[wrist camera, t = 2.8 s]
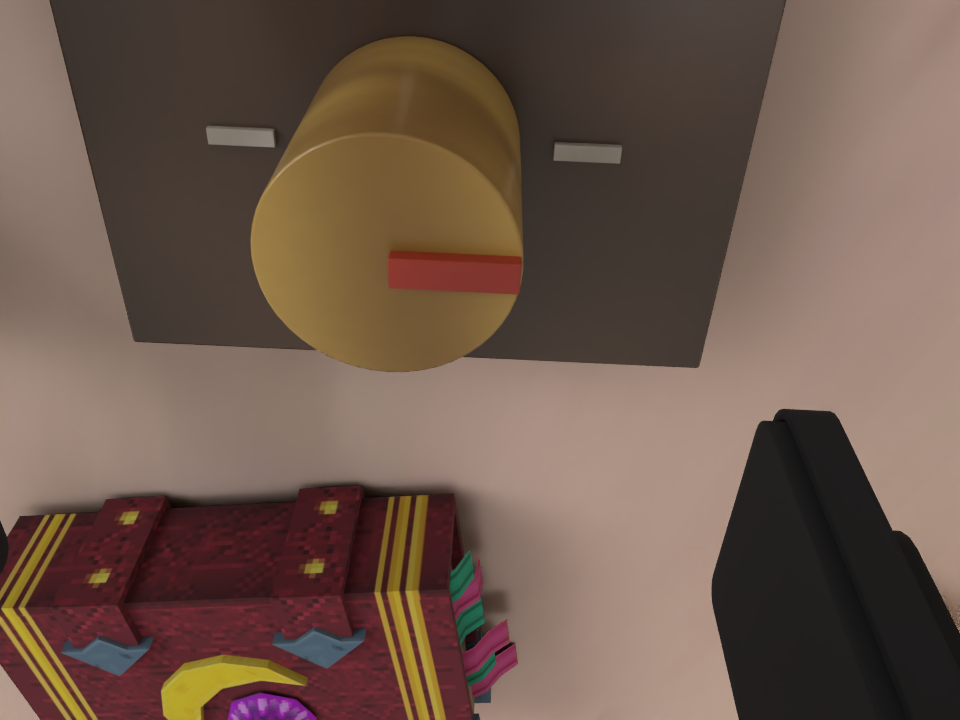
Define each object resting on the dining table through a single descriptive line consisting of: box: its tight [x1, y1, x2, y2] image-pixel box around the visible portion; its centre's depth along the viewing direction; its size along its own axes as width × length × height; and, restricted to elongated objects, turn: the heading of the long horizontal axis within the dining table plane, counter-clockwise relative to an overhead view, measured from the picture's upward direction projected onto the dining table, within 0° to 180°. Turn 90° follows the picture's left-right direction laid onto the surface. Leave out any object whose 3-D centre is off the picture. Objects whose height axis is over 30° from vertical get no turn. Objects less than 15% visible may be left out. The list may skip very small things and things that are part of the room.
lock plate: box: [50, 0, 786, 368], centre depth 19 cm, size 14×11×3 cm
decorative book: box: [0, 486, 518, 720], centre depth 29 cm, size 11×16×5 cm
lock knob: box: [250, 36, 523, 372], centre depth 16 cm, size 4×4×5 cm
